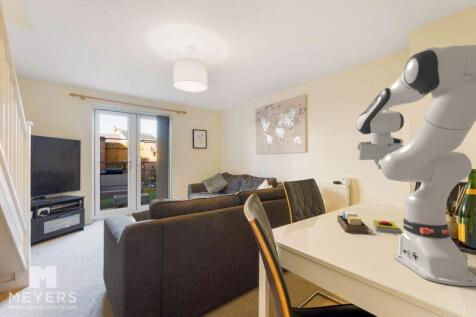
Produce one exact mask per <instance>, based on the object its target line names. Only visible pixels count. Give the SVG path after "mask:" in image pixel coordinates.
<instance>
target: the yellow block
mask: <svg viewBox="0 0 476 317" xmlns="http://www.w3.org/2000/svg"><path fill="white" fill-rule="evenodd" d="M361 221H362V219H361V218H360V217H359V216H358V217H350V216H348V223H349V224H350V225H353V226H356V225H361Z"/></svg>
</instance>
